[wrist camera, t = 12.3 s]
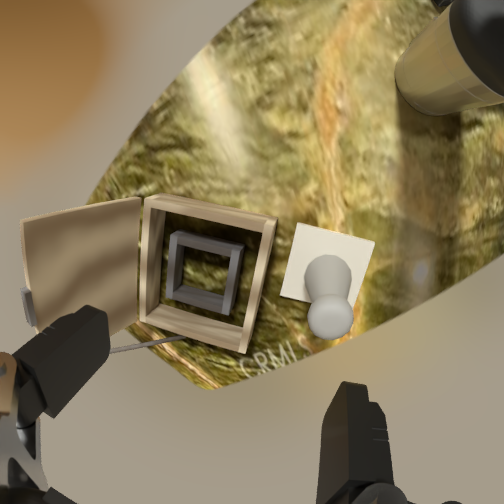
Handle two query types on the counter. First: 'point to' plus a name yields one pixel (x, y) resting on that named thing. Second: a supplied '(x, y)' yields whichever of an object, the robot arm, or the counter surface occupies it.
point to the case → (180, 319)
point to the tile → (320, 243)
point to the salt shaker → (329, 297)
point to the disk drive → (443, 2)
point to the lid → (82, 262)
